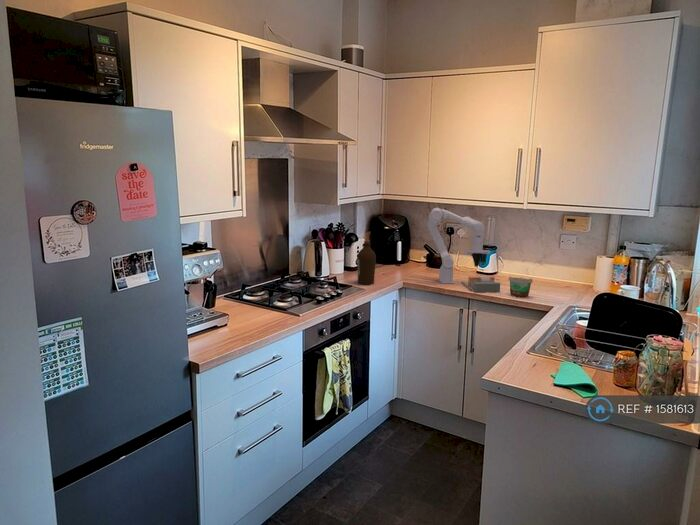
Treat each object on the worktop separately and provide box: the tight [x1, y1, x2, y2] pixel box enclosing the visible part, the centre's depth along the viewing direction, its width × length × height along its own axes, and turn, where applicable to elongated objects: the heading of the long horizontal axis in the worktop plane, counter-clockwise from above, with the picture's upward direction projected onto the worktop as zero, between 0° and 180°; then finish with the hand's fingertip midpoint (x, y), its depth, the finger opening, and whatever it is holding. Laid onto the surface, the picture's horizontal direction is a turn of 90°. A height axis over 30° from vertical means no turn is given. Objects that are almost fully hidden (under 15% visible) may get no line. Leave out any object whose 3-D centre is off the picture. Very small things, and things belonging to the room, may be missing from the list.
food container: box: [508, 276, 534, 298], centre depth 271 cm, size 12×6×10 cm, turn 62°
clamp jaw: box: [467, 275, 496, 289], centre depth 288 cm, size 3×14×6 cm, turn 96°
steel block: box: [478, 277, 490, 282], centre depth 284 cm, size 5×5×7 cm
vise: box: [460, 281, 501, 294], centre depth 288 cm, size 20×17×5 cm
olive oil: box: [356, 239, 377, 286], centre depth 292 cm, size 11×11×25 cm
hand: (476, 266), depth 296 cm, fingers closed
